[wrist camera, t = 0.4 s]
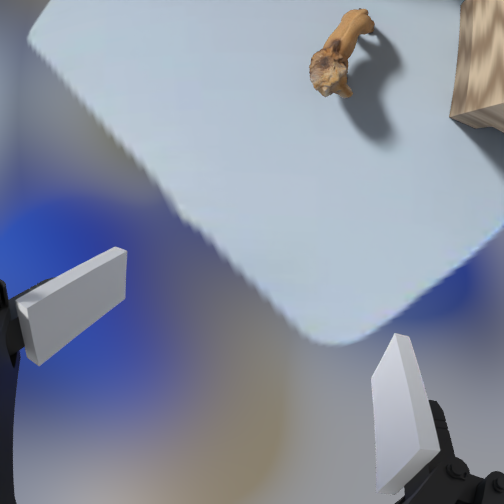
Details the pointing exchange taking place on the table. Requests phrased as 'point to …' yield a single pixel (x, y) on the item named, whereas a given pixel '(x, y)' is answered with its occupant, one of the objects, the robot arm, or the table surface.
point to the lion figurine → (339, 54)
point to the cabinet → (480, 65)
